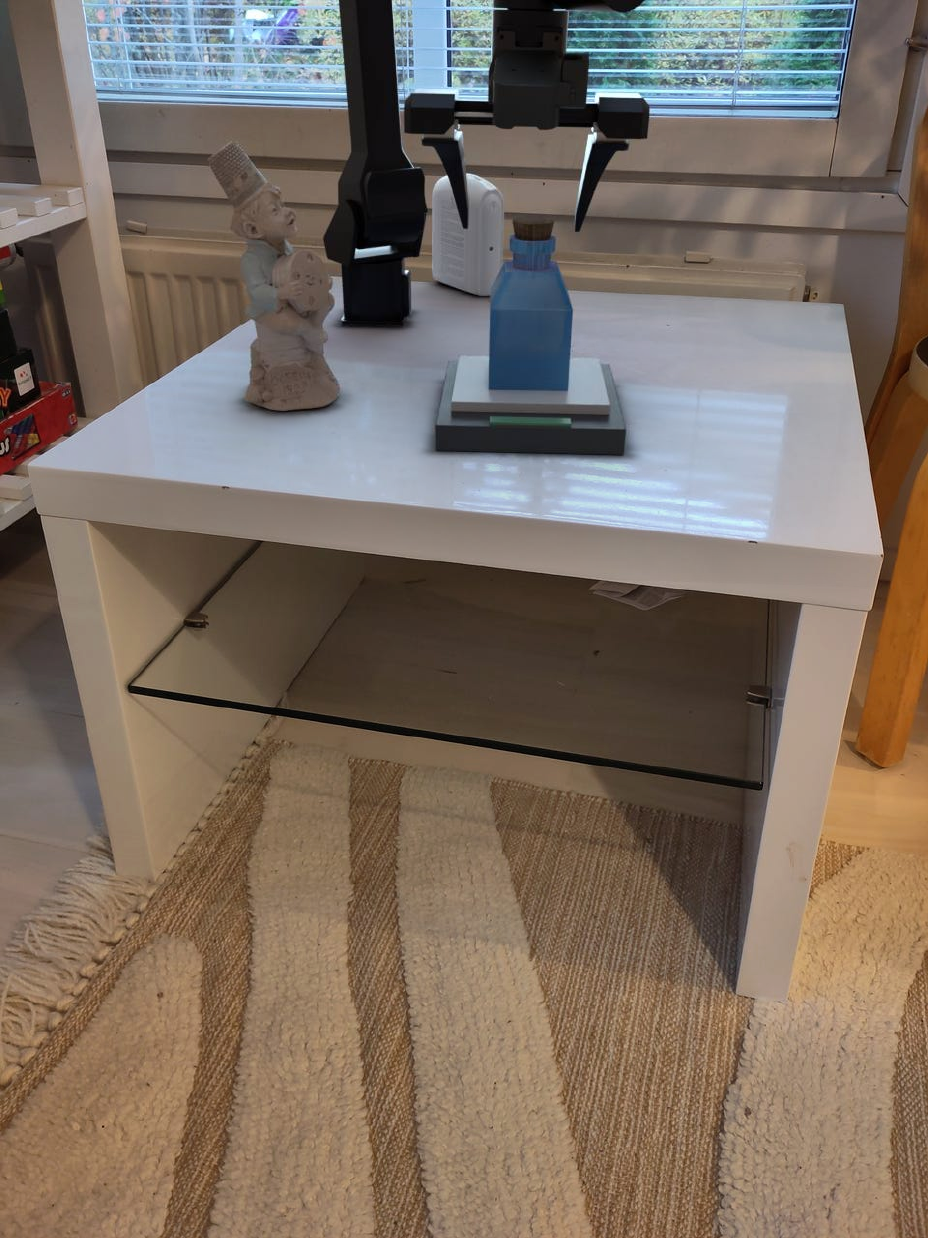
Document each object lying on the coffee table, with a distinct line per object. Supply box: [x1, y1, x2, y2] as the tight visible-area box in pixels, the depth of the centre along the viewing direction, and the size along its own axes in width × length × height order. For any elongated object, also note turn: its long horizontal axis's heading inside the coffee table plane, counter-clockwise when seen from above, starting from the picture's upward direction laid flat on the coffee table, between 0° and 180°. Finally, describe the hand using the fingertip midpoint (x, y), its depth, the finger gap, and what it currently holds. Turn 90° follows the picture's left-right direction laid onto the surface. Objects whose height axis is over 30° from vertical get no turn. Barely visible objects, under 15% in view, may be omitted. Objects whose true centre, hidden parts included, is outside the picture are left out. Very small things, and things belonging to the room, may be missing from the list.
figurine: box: [207, 138, 341, 412], centre depth 80 cm, size 9×8×20 cm
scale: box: [434, 354, 627, 456], centre depth 81 cm, size 14×16×3 cm
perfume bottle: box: [488, 215, 574, 391], centre depth 79 cm, size 6×6×12 cm
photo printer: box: [431, 172, 505, 297], centre depth 117 cm, size 10×4×12 cm, turn 36°
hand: (521, 229), depth 84 cm, fingers open, 9 cm apart
